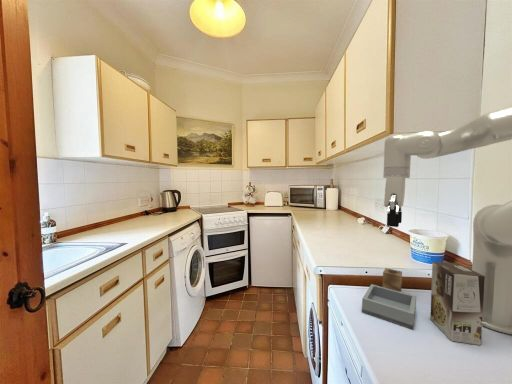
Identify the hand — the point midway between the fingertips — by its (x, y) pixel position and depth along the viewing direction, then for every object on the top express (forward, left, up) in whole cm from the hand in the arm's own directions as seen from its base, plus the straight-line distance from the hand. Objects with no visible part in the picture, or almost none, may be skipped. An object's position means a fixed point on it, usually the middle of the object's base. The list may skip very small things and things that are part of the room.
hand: (394, 224), depth 76 cm
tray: (-1, +14, -23) cm, 27 cm away
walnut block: (0, 0, -23) cm, 23 cm away
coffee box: (-15, +14, -24) cm, 31 cm away
